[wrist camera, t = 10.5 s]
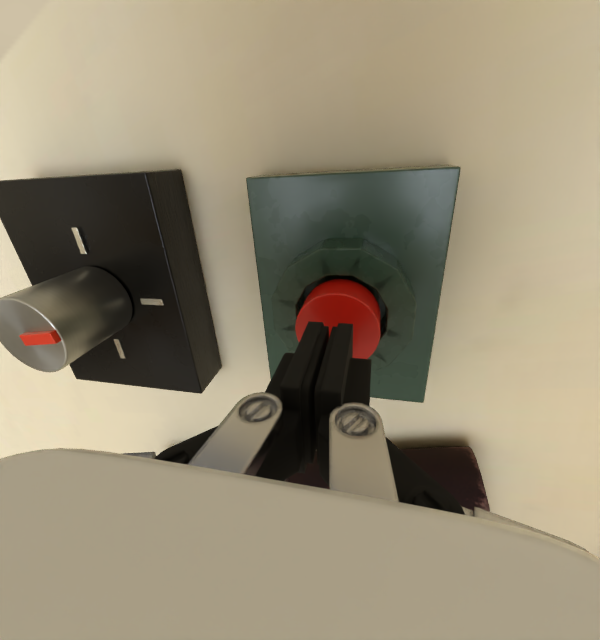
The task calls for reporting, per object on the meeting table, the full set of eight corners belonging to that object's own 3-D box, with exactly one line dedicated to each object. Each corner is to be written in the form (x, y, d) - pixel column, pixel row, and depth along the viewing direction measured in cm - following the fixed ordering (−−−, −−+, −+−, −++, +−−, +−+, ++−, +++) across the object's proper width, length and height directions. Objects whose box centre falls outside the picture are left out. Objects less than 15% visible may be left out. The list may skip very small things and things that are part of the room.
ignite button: (301, 277, 14) (292, 292, 13) (382, 279, 14) (383, 295, 12) (305, 344, 16) (297, 364, 14) (378, 350, 15) (377, 371, 14)
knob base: (36, 178, 19) (-22, 182, 16) (181, 169, 17) (143, 171, 14) (107, 356, 25) (73, 380, 22) (222, 367, 23) (200, 395, 20)
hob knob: (91, 330, 20) (15, 377, 16) (59, 270, 18) (-36, 304, 14) (143, 326, 19) (75, 376, 15) (114, 261, 17) (28, 296, 13)
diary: (165, 444, 29) (127, 495, 24) (468, 433, 21) (491, 507, 16) (238, 561, 36) (219, 617, 32) (484, 588, 28) (502, 668, 24)
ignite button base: (261, 175, 16) (228, 180, 13) (450, 164, 14) (472, 168, 11) (280, 366, 22) (261, 407, 18) (419, 379, 20) (427, 427, 16)
